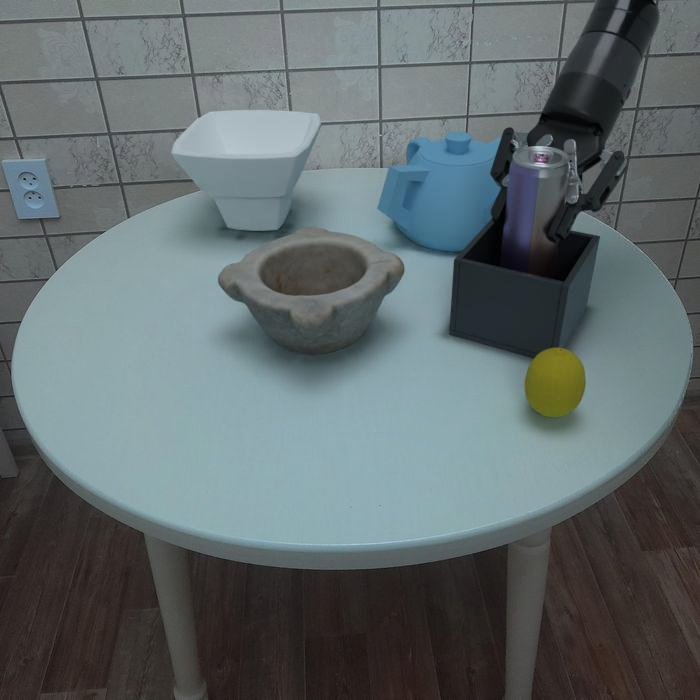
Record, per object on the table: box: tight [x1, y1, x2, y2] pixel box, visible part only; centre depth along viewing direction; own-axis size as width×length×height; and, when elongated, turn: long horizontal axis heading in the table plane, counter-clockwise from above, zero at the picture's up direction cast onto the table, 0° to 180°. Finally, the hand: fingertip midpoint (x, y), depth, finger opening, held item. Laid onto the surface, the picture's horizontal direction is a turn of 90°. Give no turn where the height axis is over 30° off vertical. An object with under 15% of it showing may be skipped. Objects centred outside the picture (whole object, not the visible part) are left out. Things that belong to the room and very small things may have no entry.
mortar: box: [217, 226, 406, 355], centre depth 81 cm, size 17×17×9 cm
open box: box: [448, 219, 601, 359], centre depth 82 cm, size 12×12×10 cm
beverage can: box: [500, 146, 570, 279], centre depth 77 cm, size 6×6×15 cm
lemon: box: [524, 348, 587, 419], centre depth 69 cm, size 6×6×8 cm
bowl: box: [170, 109, 322, 232], centre depth 104 cm, size 19×19×14 cm
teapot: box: [376, 131, 502, 253], centre depth 101 cm, size 19×19×14 cm
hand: (524, 231), depth 76 cm, fingers closed on beverage can, 6 cm apart
